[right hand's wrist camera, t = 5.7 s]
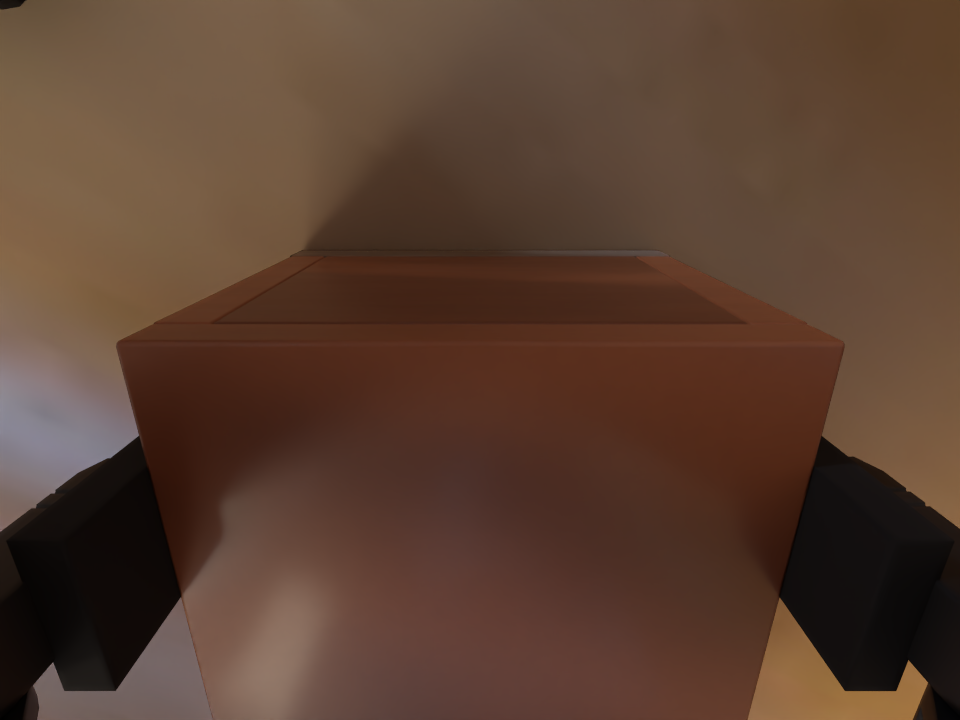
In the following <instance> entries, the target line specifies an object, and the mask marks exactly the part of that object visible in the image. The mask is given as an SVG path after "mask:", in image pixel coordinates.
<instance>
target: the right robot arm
mask: <svg viewBox="0 0 960 720" xmlns="http://www.w3.org/2000/svg"><path fill="white" fill-rule="evenodd" d="M180 597H181V594H180V590H179V587H178V583H177V579H176V575H175V571H174V567H173V563H172V560H171V556H170V552H169V548H168V544H167V540H166V537H165V533H164V529H163V525H162V521H161V517H160V513H159V510H158V506H157V502H156V498H155V494H154V490H153V486H152V483H151V479H150V475H149V471H148V467H147V463H146V459H145V456H144V452H143V448H142V444H141V440H140V436H138V437H137V438H136V439H134V440H133V441H132V442H131V443H129V444H128V445H127V446H126V447H124V448H123V449H122V450H120V451H119V452H118V453H117V454H115V455H114V456H113V457H112V458H108V459H105V460H103V461H101V462H99V463H97V464H95V465H93V466H91V467H89V468H87V469H85V470H83V471H81V472H79V473H77V474H76V475H75V476H73V477H72V478H71V479H69V480H68V481H67V482H66V483H64V484H63V485H62V486H60V487H59V488H58V489H56V492H55V494H50V495H48V496H47V497H46V498H45V499H43V500H42V501H41V502H39V503H38V504H37V507H36V508H31V509H30V510H29V511H27V512H26V513H25V514H24V515H22V516H21V517H20V518H18V519H17V520H16V521H14V522H13V523H12V524H10V525H9V526H8V527H6V528H5V529H4V530H3V531H1V532H0V720H37V717H38V711H39V704H38V698H37V694H36V692H35V689H34V687H33V684H34V683H35V682H36V681H37V680H38V679H39V677H40V676H41V675H42V674H43V673H44V672H45V670H46V669H47V668H48V667H49V666H50V665H51V664H52V662H53V663H54V665H55V668H56V670H57V673H58V675H59V678H60V681H61V683H62V686H63V688H64V691H116V689H117V688H118V687H119V685H120V684H121V682H122V681H123V679H124V678H125V677H126V675H127V674H128V672H129V671H130V669H131V668H132V666H133V665H134V664H135V662H136V661H137V659H138V658H139V656H140V655H141V654H142V652H143V651H144V649H145V648H146V646H147V645H148V643H149V642H150V641H151V639H152V638H153V636H154V635H155V633H156V632H157V631H158V629H159V628H160V626H161V625H162V623H163V622H164V620H165V619H166V618H167V616H168V615H169V613H170V612H171V610H172V609H173V608H174V606H175V605H176V603H177V602H178V600H179V599H180ZM780 598H781V600H782V601H783V602H784V604H785V605H786V607H787V608H788V610H789V611H790V612H791V614H792V615H793V617H794V618H795V620H796V621H797V623H798V624H799V625H800V627H801V628H802V630H803V631H804V633H805V634H806V635H807V637H808V638H809V640H810V641H811V643H812V644H813V646H814V647H815V648H816V650H817V651H818V653H819V654H820V656H821V657H822V658H823V660H824V661H825V663H826V664H827V666H828V667H829V669H830V670H831V671H832V673H833V674H834V676H835V677H836V679H837V680H838V681H839V683H840V684H841V686H842V687H843V689H844V690H845V691H896V690H897V688H898V685H899V683H900V680H901V677H902V675H903V672H904V670H905V667H906V665H907V662H908V660H909V661H910V662H911V663H912V664H913V666H914V667H915V668H916V669H917V670H918V671H919V672H920V674H921V675H922V676H923V677H924V678H925V679H926V681H927V682H928V685H927V687H926V689H925V692H924V694H923V697H922V699H921V701H920V704H919V706H918V709H917V711H916V713H915V716H914V718H913V720H960V529H959V528H958V527H956V526H955V525H954V524H953V523H951V522H950V521H949V520H947V519H946V518H945V517H943V516H942V515H941V514H939V513H938V512H937V511H935V510H934V509H933V508H931V507H930V506H925V502H923V501H922V500H921V499H919V498H918V497H917V496H915V495H914V494H913V493H911V492H906V488H905V487H904V486H902V485H901V484H900V483H898V482H897V481H896V480H894V479H893V478H892V477H890V476H889V475H888V474H886V473H885V472H884V471H882V470H880V469H878V468H876V467H874V466H872V465H870V464H868V463H865V462H863V461H861V460H859V459H857V458H855V457H848V456H847V455H845V454H844V453H843V452H841V451H840V450H839V449H838V448H836V447H835V446H834V445H833V444H831V443H830V442H829V441H828V440H826V439H825V438H824V437H822V436H821V439H820V443H819V447H818V451H817V455H816V458H815V462H814V466H813V470H812V474H811V478H810V481H809V485H808V489H807V493H806V497H805V501H804V504H803V508H802V512H801V516H800V520H799V524H798V528H797V531H796V535H795V539H794V543H793V547H792V551H791V554H790V558H789V562H788V566H787V570H786V574H785V577H784V581H783V585H782V589H781V593H780Z"/></svg>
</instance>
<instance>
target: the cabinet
mask: <svg viewBox="0 0 960 720" xmlns="http://www.w3.org/2000/svg"><path fill="white" fill-rule="evenodd" d="M116 348H117V352H118V356H119V359H120V363H121V367H122V371H123V375H124V379H125V382H126V386H127V390H128V394H129V398H130V402H131V406H132V409H133V413H134V417H135V421H136V425H137V429H138V433H139V436H140V440H141V444H142V448H143V452H144V456H145V459H146V463H147V467H148V471H149V475H150V479H151V483H152V486H153V490H154V494H155V498H156V502H157V506H158V510H159V513H160V517H161V521H162V525H163V529H164V533H165V537H166V540H167V544H168V548H169V552H170V556H171V560H172V563H173V567H174V571H175V575H176V579H177V583H178V587H179V590H180V594H181V598H182V602H183V606H184V610H185V614H186V617H187V621H188V625H189V629H190V633H191V637H192V641H193V644H194V648H195V652H196V656H197V660H198V664H199V667H200V671H201V675H202V679H203V683H204V687H205V691H206V694H207V698H208V702H209V706H210V710H211V714H212V718H213V720H747V719H748V715H749V712H750V708H751V704H752V700H753V696H754V692H755V689H756V685H757V681H758V677H759V673H760V669H761V666H762V662H763V658H764V654H765V650H766V646H767V643H768V639H769V635H770V631H771V627H772V623H773V620H774V616H775V612H776V608H777V604H778V600H779V597H780V593H781V589H782V585H783V581H784V577H785V574H786V570H787V566H788V562H789V558H790V554H791V551H792V547H793V543H794V539H795V535H796V531H797V528H798V524H799V520H800V516H801V512H802V508H803V504H804V501H805V497H806V493H807V489H808V485H809V481H810V478H811V474H812V470H813V466H814V462H815V458H816V455H817V451H818V447H819V443H820V439H821V435H822V432H823V428H824V424H825V420H826V416H827V412H828V409H829V405H830V401H831V397H832V393H833V389H834V386H835V382H836V378H837V374H838V370H839V366H840V363H841V359H842V355H843V351H844V343H843V341H841V340H839V339H837V338H835V337H832V336H830V335H828V334H826V333H824V332H822V331H820V330H818V329H816V328H814V327H812V326H810V325H807V323H806V322H804V321H802V320H800V319H798V318H795V317H793V316H791V315H789V314H787V313H785V312H783V311H781V310H779V309H777V308H775V307H773V306H770V305H768V304H766V303H764V302H762V301H760V300H758V299H756V298H754V297H752V296H750V295H748V294H746V293H743V292H741V291H739V290H737V289H735V288H733V287H731V286H729V285H727V284H725V283H723V282H721V281H719V280H716V279H714V278H712V277H710V276H708V275H706V274H704V273H702V272H700V271H698V270H696V269H694V268H692V267H689V266H687V265H685V264H683V263H681V262H679V261H677V260H675V259H673V258H671V257H670V256H669V255H667V254H665V253H663V252H661V251H658V250H302V251H300V252H298V253H295V254H293V255H291V256H290V258H288V259H286V260H283V261H281V262H279V263H277V264H275V265H273V266H271V267H269V268H267V269H265V270H263V271H261V272H259V273H256V274H254V275H252V276H250V277H248V278H246V279H244V280H242V281H240V282H238V283H236V284H234V285H232V286H230V287H227V288H225V289H223V290H221V291H219V292H217V293H215V294H213V295H211V296H209V297H207V298H205V299H203V300H201V301H198V302H196V303H194V304H192V305H190V306H188V307H186V308H184V309H182V310H180V311H178V312H176V313H174V314H171V315H169V316H167V317H165V318H163V319H161V320H159V321H157V322H155V323H154V324H153V325H151V326H149V327H147V328H144V329H142V330H140V331H138V332H136V333H134V334H132V335H130V336H128V337H126V338H124V339H122V340H120V341H118V342H117V345H116Z"/></svg>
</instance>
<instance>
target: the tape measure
mask: <svg viewBox="0 0 960 720" xmlns="http://www.w3.org/2000/svg"><path fill="white" fill-rule="evenodd" d="M24 1H26V0H0V9H8V8H14V7H19V6H21V5H22V4H23V3H24Z"/></svg>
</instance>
